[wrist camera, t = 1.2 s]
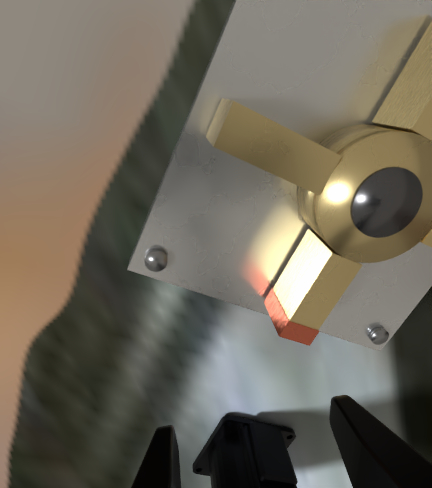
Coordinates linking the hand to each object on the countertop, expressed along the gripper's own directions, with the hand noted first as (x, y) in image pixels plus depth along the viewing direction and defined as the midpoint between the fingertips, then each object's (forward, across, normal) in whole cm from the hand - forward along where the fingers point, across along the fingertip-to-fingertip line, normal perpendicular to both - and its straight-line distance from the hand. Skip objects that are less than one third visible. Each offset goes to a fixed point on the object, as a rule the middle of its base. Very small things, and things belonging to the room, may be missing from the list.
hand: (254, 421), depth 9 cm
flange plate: (+12, -8, -2) cm, 14 cm away
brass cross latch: (+11, -8, -2) cm, 13 cm away
